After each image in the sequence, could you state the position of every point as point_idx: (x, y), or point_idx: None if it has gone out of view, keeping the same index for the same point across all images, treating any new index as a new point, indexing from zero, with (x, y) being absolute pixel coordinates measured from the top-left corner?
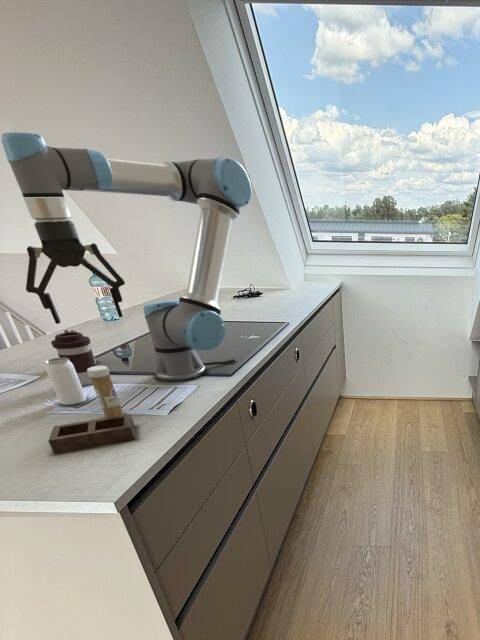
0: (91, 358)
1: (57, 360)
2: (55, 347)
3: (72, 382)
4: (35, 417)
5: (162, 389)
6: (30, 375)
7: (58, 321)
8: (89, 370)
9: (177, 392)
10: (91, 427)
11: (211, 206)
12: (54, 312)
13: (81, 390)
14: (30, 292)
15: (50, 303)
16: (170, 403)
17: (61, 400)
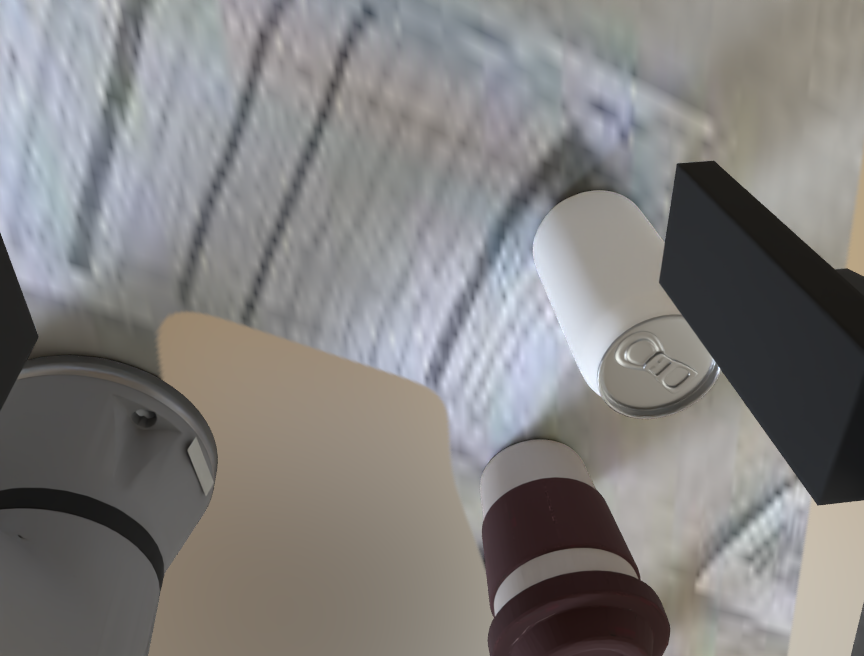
0: (494, 550)
1: (656, 388)
2: (652, 591)
3: (588, 255)
4: (763, 76)
5: (156, 261)
6: (726, 603)
7: (689, 171)
8: None
9: (54, 178)
10: None
11: None
12: (740, 217)
13: (549, 252)
14: None
15: (804, 279)
16: None
17: (642, 214)
